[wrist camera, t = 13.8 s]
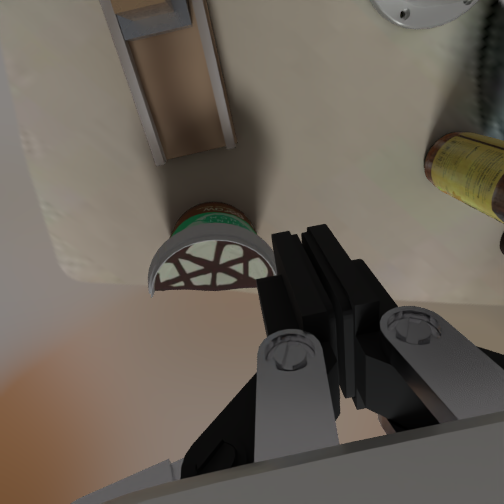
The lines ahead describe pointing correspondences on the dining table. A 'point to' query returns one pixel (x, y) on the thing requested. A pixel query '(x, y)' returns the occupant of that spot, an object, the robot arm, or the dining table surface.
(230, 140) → the rail
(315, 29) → the dining table surface
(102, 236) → the dining table surface
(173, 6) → the carriage
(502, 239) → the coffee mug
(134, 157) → the dining table surface
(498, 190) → the sauce bottle
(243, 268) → the food container
